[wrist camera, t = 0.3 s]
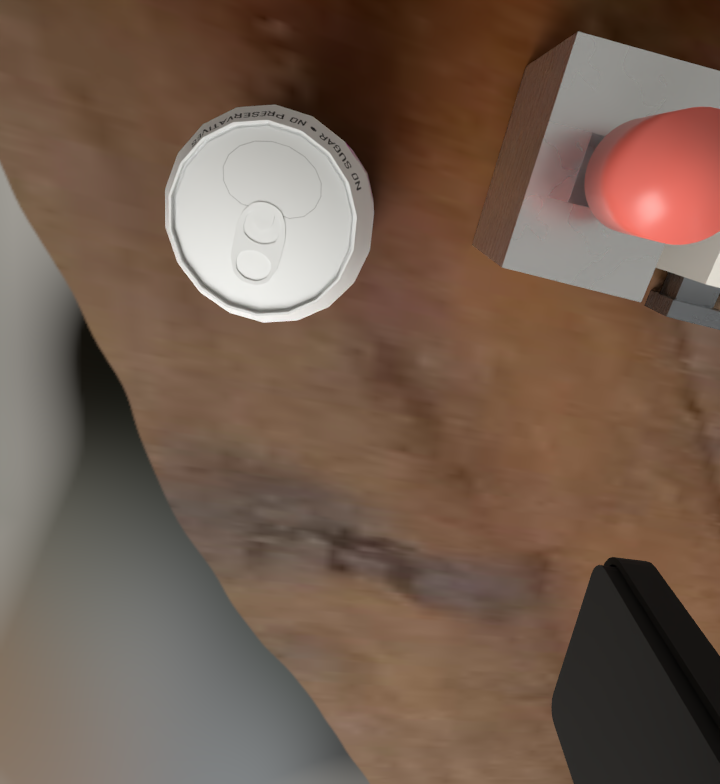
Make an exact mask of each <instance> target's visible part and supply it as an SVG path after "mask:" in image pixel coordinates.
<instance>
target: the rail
mask: <svg viewBox="0 0 720 784" xmlns="http://www.w3.org/2000/svg"><path fill="white" fill-rule="evenodd" d="M719 294H720V288H718V287H714V286H710V285H706V284H703V283H700V282H697V281H694V280H691V279H688V278H685V277H682V276H680V275H677V274H674V273H671V272H668V275H667V277H666V279H665V282H664V284H663V287H662V289H661V291H660V293H659V292H655V291H650V294H649V296H648V299H647V301H646V304H645V306H646V307H648V308H650V309H652V310H654V311H656V312H658V313H660V314H662V315H664V316H667V317H671V318H674V319H678V320H682V321H686V322H690V323H694V324H698V325H702V326H706V327H710V328H714V329H718V330H720V310H718V309H716V308H713V307H714V305H715V302H716V300H717V298H718V296H719Z"/></svg>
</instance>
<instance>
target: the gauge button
mask: <svg viewBox="0 0 720 784" xmlns="http://www.w3.org/2000/svg"><path fill="white" fill-rule="evenodd" d="M584 188H585V196H586V200H587V203H588V206H589V208H590V210H591V212H592V213H593V215H594V216H595V217H596V219H598V220H599V221H600V222H601V223H602V224H603V225H605V226H606V227H608V228H610V229H612V230H614V231H617V232H620V233H624V234H628V235H632V236H636V237H640V238H645V239H649V240H653V241H657V242H661V243H665V244H671V245H684V244H691V243H696V242H699V241H702V240H704V239H707V238H709V237H711V236H713V235H714V234H716V233H718V232H719V231H720V109H718V108H713V107H692V108H687V109H682V110H677V111H672V112H667V113H662V114H657V115H652V116H647V117H642V118H637V119H633V120H630V121H628V122H625V123H623V124H621V125H619V126H618V127H616V128H615V129H613V130H612V131H611V132H610V133H608V134H607V135H606V136H605V137H604V138H603V139H602V141H601V142H600V143H599V144H598V146H597V147H596V148H595V150H594V152H593V154H592V155H591V158H590V160H589V162H588V165H587V169H586V173H585V182H584Z"/></svg>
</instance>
